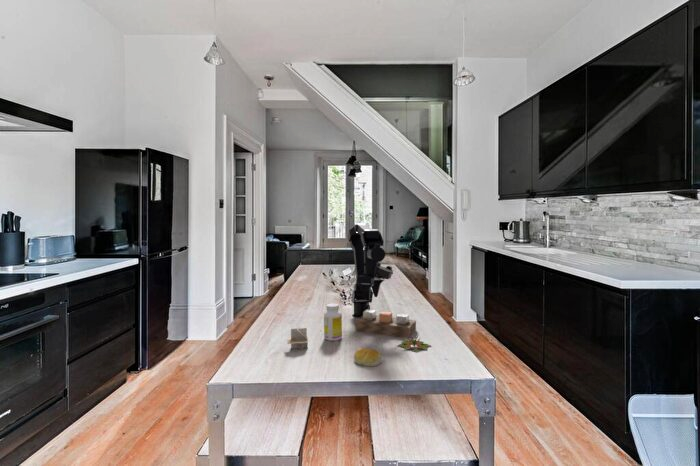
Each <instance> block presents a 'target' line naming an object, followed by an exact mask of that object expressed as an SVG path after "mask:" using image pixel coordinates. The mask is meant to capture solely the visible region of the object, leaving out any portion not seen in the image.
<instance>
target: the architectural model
mask: <svg viewBox="0 0 700 466" xmlns="http://www.w3.org/2000/svg"><path fill="white" fill-rule="evenodd" d="M307 331H308V329H307V327H302V328H301V327H299V328H298V327H297V328H290V338H291V339H287V344H288V345H289V344H290V348H291V349H300V350H303V349H304V348H303V347H305V348H306V349H307V350H308V349H309V347H308V346H309V345H308V342H309V340H308V332H307Z"/></svg>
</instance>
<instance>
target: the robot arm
mask: <svg viewBox="0 0 700 466" xmlns="http://www.w3.org/2000/svg"><path fill="white" fill-rule="evenodd" d="M347 242H349V247H350V248H351V249H352V251H353V259H354V269H355V270H354V271H355V280H356V282H355V284H354V285H353V290H352V292H351V296H350V298H351V303H352V304H353V314H352V317H357V318H360V317H362V316H363V312H364V311H365V310H367V309H368V310H371V305H370V303H371V304H372V303H373V296H374V297H375V298H378V296H379V292H380V287H381V284H382V283H384V281H385V280H389V279H391V278H392V277H393V276H392V275H393V274H394V270H393V267H392V266H390V265H387V266H385V267H384V266H382V264H381V262H382V261H384V259H385V258H386V251H385V250H384V249H383V248H382V247H383V246H384V243H385V241H384V239H383V235H382V233H381V232H380V230H379V229H377V228H375V229H373V228H371V227H370V226H368V224H367V223H365V222H360V223H359V222H357V223H354V226H353V227H352V228H350V229H349V230H348V234H347Z"/></svg>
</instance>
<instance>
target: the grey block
mask: <svg viewBox="0 0 700 466" xmlns="http://www.w3.org/2000/svg"><path fill="white" fill-rule="evenodd" d="M395 318H396V324H402V325H407V324H408V323H409V320H410V314H406V313H398V314H397V315H396V317H395Z"/></svg>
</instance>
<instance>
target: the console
mask: <svg viewBox="0 0 700 466" xmlns="http://www.w3.org/2000/svg"><path fill="white" fill-rule="evenodd" d="M355 331H358V332H365V333H372V334H378V335H386V336H391V337H392V336H394V337H399V338H405V339H410V338H411V336H413V335H414V333H415V332H416V331H417V320H415V319H409V323H408V324H407V325H402V324H396V317H392V321H391V322H390V323H387V322H379V315H377V314H376V319H374V320H373V321H372V320H364V319H363V316H362V317H358V318H357V319H356V320H355ZM408 335H409V336H408Z"/></svg>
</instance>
